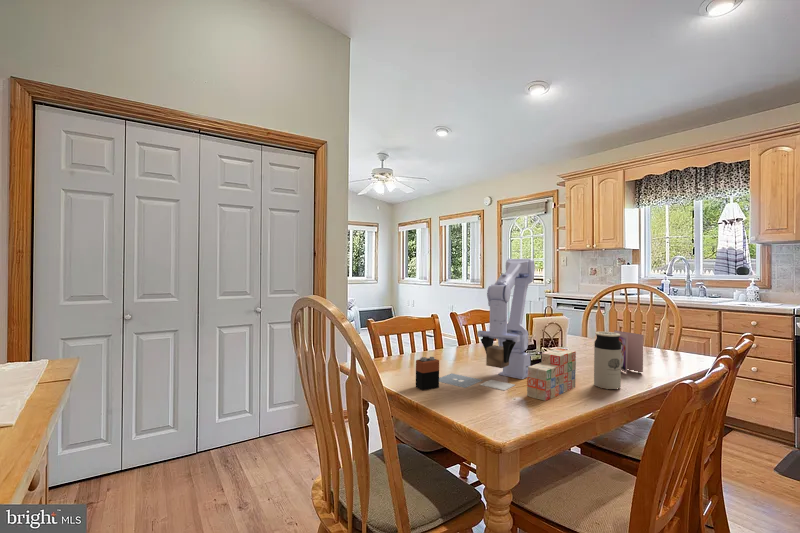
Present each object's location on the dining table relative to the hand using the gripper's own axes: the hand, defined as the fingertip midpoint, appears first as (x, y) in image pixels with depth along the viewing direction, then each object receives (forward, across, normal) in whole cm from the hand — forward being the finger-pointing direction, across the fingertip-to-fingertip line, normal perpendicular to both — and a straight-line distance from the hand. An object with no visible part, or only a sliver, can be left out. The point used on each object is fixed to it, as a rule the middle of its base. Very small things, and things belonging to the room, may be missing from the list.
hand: (497, 360), depth 135 cm
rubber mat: (+8, 0, 0) cm, 8 cm away
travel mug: (+8, +28, +24) cm, 38 cm away
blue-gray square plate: (+8, -13, -4) cm, 16 cm away
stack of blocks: (+9, +16, +6) cm, 19 cm away
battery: (+9, -16, -18) cm, 26 cm away
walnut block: (+2, 0, 0) cm, 2 cm away
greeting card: (+8, +29, +51) cm, 59 cm away
